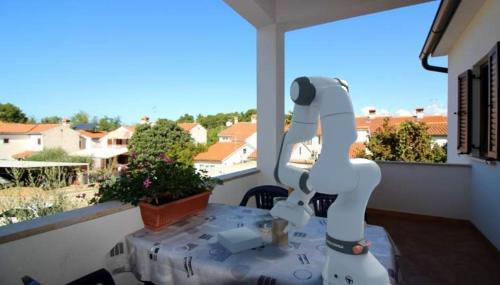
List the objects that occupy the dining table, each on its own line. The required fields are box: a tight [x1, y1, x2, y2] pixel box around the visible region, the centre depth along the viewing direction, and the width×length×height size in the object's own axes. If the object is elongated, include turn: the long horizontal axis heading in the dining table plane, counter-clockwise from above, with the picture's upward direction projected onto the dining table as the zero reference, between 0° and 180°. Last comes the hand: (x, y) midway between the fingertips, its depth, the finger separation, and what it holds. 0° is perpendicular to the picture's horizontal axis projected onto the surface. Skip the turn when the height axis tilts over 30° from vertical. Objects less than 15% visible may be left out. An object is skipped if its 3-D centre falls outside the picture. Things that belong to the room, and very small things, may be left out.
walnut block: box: [271, 218, 289, 247], centre depth 113 cm, size 5×5×10 cm
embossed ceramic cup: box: [272, 196, 288, 219], centre depth 142 cm, size 10×10×12 cm
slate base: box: [217, 226, 263, 254], centre depth 112 cm, size 14×14×4 cm
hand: (278, 229), depth 112 cm, fingers closed on walnut block, 5 cm apart
